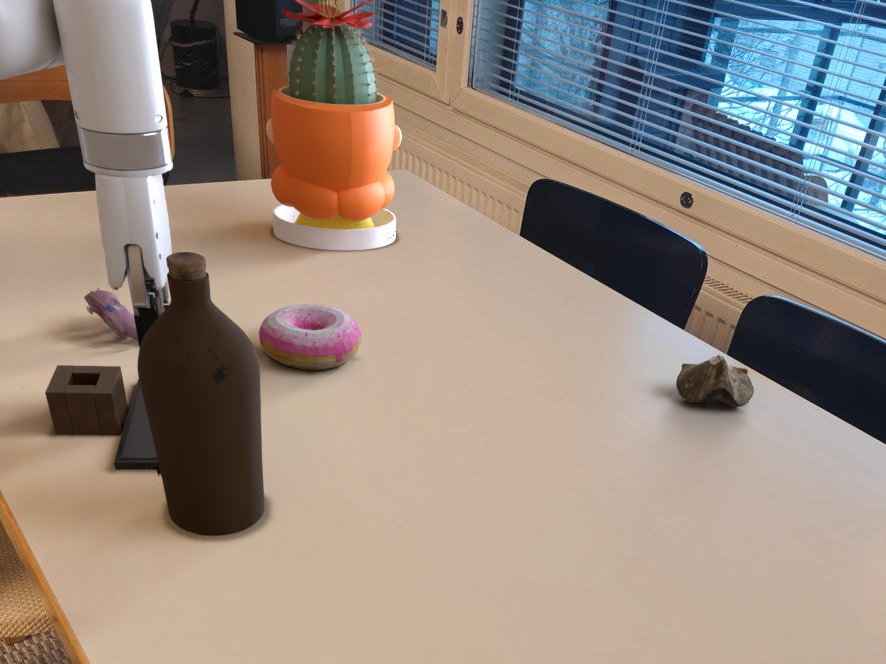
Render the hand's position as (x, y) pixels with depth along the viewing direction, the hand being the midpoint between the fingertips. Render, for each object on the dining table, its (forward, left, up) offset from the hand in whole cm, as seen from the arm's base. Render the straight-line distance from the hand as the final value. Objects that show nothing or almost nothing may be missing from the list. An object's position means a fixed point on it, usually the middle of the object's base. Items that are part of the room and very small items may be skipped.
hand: (158, 347), depth 91 cm
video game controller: (-10, +31, -12) cm, 35 cm away
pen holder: (-10, +7, -12) cm, 17 cm away
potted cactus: (+20, +74, -12) cm, 78 cm away
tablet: (0, +6, -12) cm, 13 cm away
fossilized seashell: (+68, +14, -12) cm, 71 cm away
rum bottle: (+5, -12, -12) cm, 18 cm away
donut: (+15, +26, -12) cm, 33 cm away
